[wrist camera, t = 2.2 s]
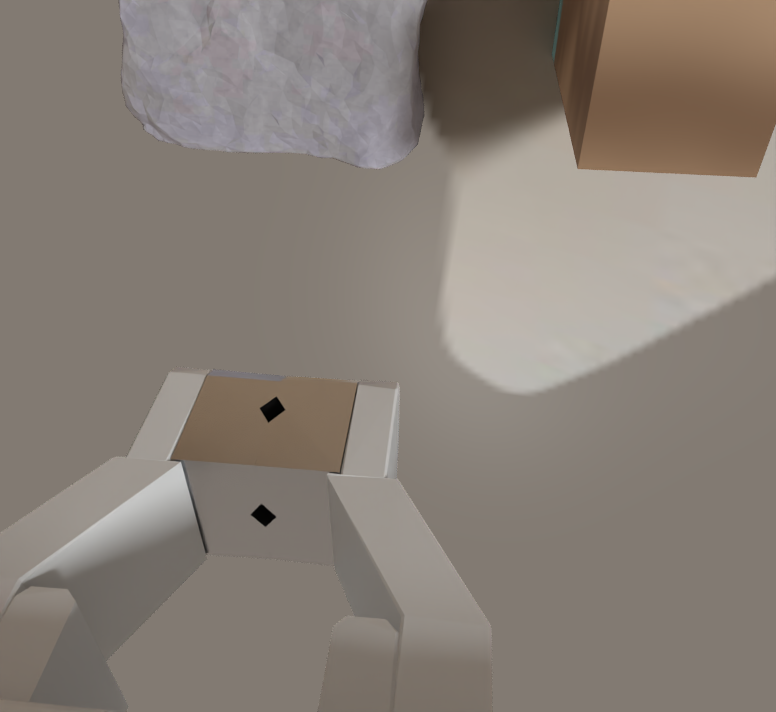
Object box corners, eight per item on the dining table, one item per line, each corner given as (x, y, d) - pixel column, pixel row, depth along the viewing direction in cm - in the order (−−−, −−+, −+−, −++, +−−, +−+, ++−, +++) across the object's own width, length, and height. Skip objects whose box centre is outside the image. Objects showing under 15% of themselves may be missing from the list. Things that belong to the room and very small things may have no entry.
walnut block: (573, -94, 25) (613, -22, 18) (720, -91, 25) (826, -16, 17) (552, 54, 28) (577, 168, 21) (681, 58, 28) (756, 177, 20)
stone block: (134, -148, 27) (152, 125, 32) (81, -167, 23) (111, 151, 28) (449, -115, 27) (419, 152, 32) (453, -128, 23) (419, 182, 28)
